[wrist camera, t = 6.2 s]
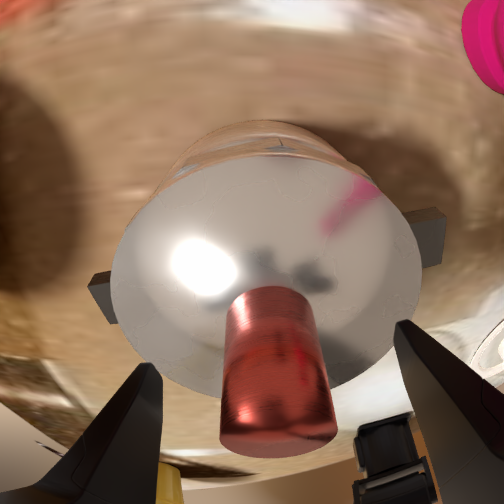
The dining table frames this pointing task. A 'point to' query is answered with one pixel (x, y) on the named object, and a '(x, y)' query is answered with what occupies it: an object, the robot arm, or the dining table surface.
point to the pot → (289, 137)
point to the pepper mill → (485, 40)
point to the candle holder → (474, 364)
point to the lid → (266, 289)
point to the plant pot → (168, 485)
